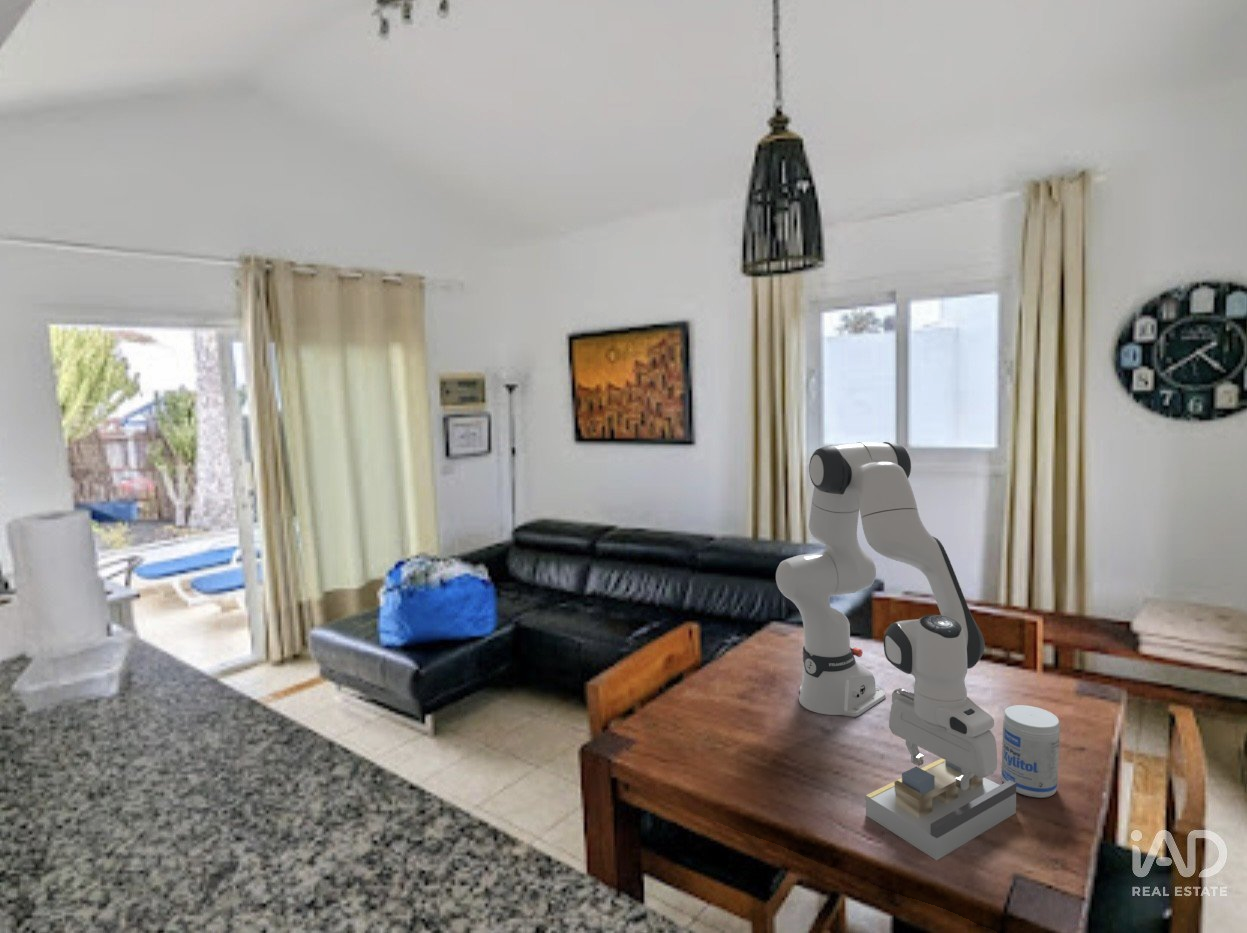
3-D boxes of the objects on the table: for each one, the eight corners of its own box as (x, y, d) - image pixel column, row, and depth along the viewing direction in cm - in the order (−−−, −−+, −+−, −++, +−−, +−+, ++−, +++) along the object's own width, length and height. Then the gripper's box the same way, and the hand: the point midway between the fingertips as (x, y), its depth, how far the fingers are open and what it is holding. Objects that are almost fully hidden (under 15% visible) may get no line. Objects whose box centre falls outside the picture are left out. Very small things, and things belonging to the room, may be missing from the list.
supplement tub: (996, 788, 136) (997, 718, 134) (1007, 767, 143) (1008, 699, 142) (1053, 806, 130) (1055, 732, 128) (1061, 782, 137) (1063, 712, 135)
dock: (943, 775, 141) (943, 748, 141) (1015, 813, 128) (1016, 782, 128) (865, 815, 130) (865, 785, 129) (936, 860, 117) (936, 827, 116)
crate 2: (958, 758, 134) (958, 746, 134) (976, 767, 131) (977, 754, 131) (945, 764, 132) (945, 752, 132) (963, 773, 129) (963, 761, 129)
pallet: (959, 771, 136) (959, 750, 135) (983, 783, 131) (983, 761, 131) (894, 804, 126) (894, 781, 126) (918, 818, 122) (918, 795, 122)
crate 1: (916, 779, 128) (916, 766, 128) (934, 788, 125) (934, 775, 124) (901, 786, 126) (901, 773, 126) (920, 796, 123) (920, 783, 122)
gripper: (881, 689, 134) (881, 755, 136) (981, 733, 117) (979, 809, 118) (903, 680, 137) (903, 745, 139) (1003, 722, 120) (1001, 796, 122)
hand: (939, 775), depth 129 cm, fingers open, 8 cm apart
